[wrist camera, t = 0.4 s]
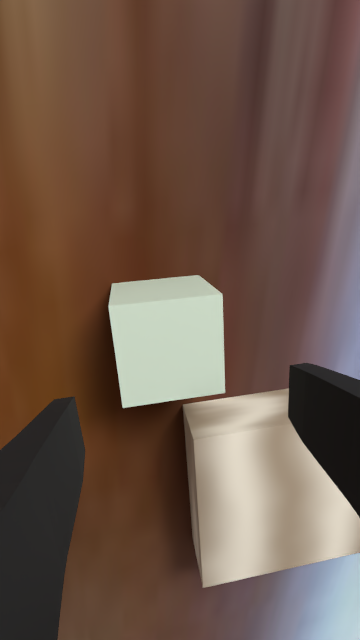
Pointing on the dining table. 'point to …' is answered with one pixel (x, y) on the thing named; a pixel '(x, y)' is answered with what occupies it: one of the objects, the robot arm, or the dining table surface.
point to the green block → (167, 339)
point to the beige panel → (259, 491)
